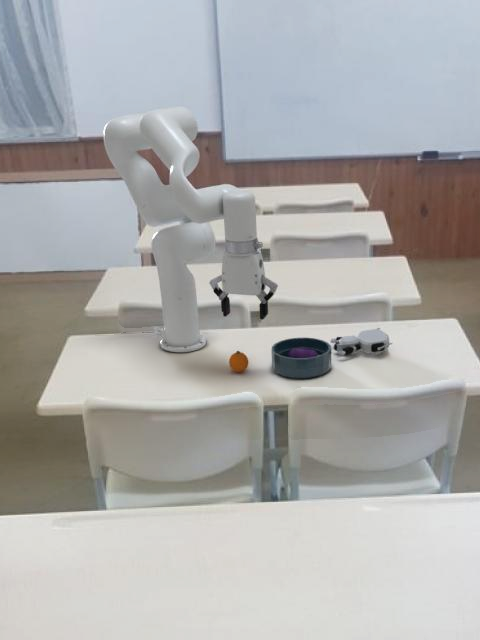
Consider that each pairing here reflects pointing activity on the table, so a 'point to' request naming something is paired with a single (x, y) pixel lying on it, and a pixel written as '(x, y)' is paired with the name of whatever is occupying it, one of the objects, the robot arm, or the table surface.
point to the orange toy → (238, 361)
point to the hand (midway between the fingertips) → (245, 316)
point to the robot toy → (362, 342)
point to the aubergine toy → (302, 353)
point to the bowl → (301, 366)
